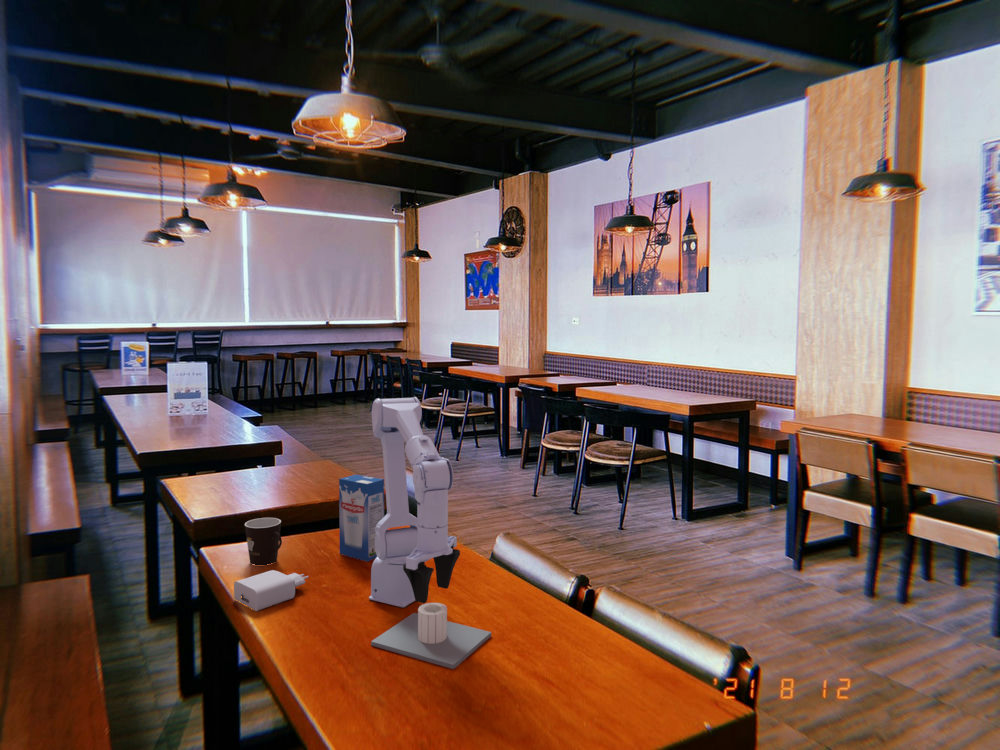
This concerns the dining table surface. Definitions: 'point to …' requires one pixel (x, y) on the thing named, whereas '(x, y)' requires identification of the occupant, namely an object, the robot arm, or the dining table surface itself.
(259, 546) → the coffee mug
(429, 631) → the paper roll
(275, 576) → the charger
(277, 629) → the dining table surface
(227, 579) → the dining table surface
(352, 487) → the milk carton
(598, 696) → the dining table surface
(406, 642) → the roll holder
